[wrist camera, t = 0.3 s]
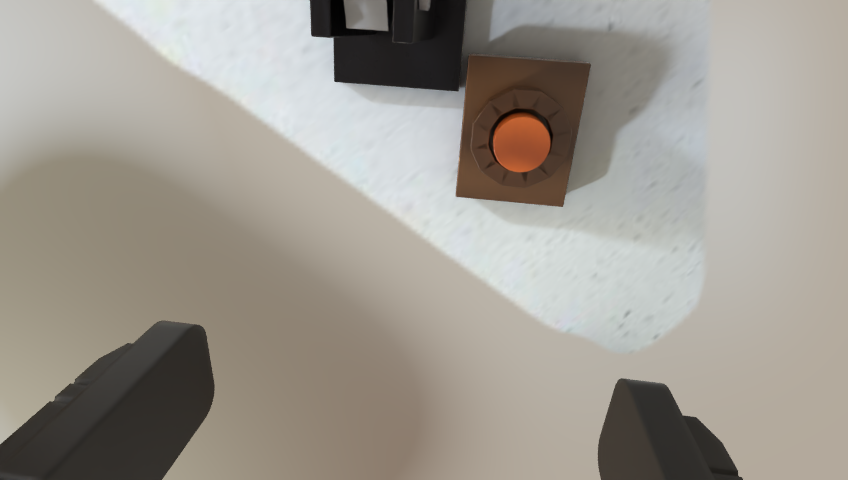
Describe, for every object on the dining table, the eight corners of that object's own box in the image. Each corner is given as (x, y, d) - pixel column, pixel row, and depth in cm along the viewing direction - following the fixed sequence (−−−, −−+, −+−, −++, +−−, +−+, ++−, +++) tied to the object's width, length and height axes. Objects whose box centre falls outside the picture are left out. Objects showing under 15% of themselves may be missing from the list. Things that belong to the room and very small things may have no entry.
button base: (469, 53, 33) (467, 56, 30) (584, 61, 33) (597, 65, 29) (456, 188, 38) (454, 205, 34) (559, 197, 37) (567, 216, 33)
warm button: (496, 109, 31) (497, 114, 30) (551, 114, 31) (555, 119, 29) (490, 162, 33) (490, 169, 31) (542, 167, 33) (545, 174, 31)
